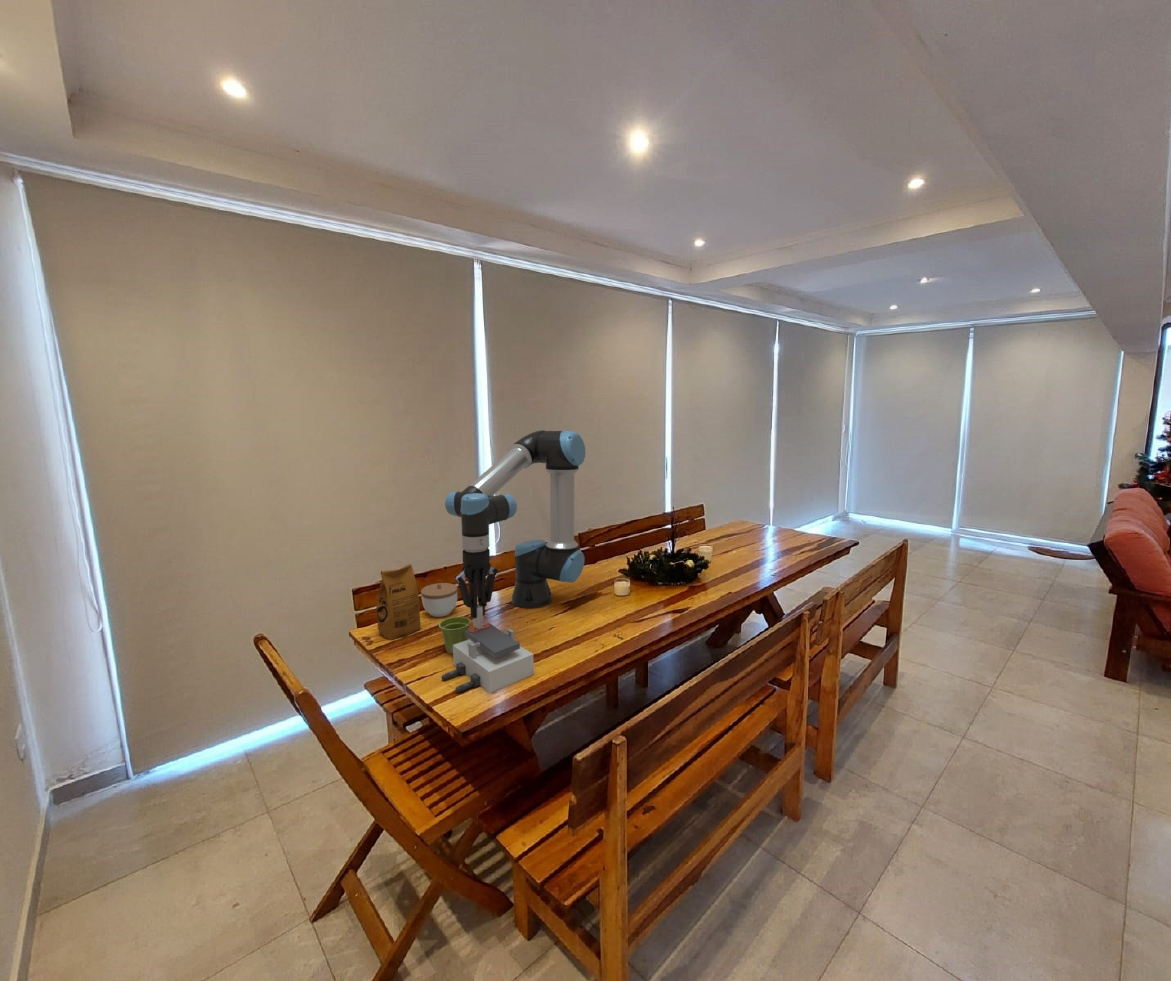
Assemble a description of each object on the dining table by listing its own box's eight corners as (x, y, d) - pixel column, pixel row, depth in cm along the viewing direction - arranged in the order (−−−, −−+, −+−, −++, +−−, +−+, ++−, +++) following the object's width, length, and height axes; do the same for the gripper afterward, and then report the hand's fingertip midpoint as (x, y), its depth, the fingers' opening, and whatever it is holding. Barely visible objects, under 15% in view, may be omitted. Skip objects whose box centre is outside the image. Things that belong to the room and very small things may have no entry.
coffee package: (374, 633, 168) (369, 569, 164) (410, 621, 177) (405, 560, 173) (388, 642, 161) (383, 576, 157) (424, 630, 170) (420, 566, 166)
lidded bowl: (419, 610, 186) (417, 581, 184) (454, 603, 192) (452, 575, 190) (425, 623, 175) (423, 592, 173) (462, 616, 181) (460, 586, 179)
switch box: (495, 649, 156) (494, 618, 155) (533, 674, 142) (533, 641, 140) (432, 672, 143) (430, 639, 141) (467, 703, 128) (465, 667, 127)
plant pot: (434, 649, 156) (433, 622, 155) (461, 639, 163) (460, 613, 162) (450, 660, 150) (448, 632, 148) (477, 649, 156) (476, 622, 155)
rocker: (493, 626, 152) (492, 621, 152) (523, 647, 141) (523, 641, 140) (460, 637, 145) (460, 631, 145) (490, 660, 134) (490, 653, 133)
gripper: (461, 556, 137) (464, 638, 141) (503, 547, 145) (504, 625, 149) (448, 550, 142) (451, 629, 146) (489, 541, 151) (491, 617, 155)
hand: (478, 627), depth 148 cm, fingers closed
